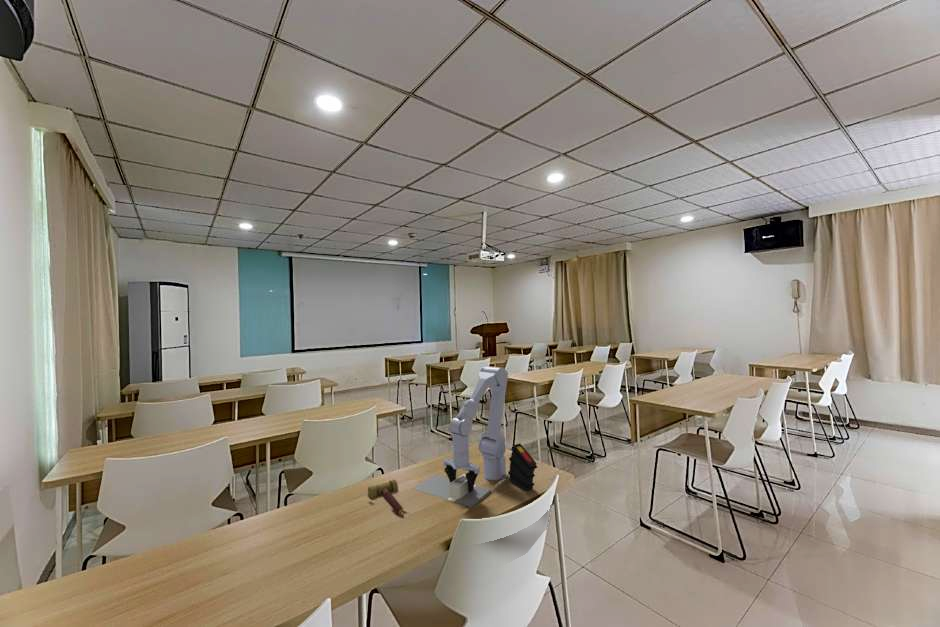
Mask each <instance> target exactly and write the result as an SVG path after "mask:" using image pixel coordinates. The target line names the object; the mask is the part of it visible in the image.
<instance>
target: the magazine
mask: <svg viewBox="0 0 940 627" xmlns="http://www.w3.org/2000/svg"><path fill="white" fill-rule="evenodd" d="M511 450H512V451H511V455H510V457H508V458H509V459H508V460H509V471H508V472H507V474H508V476H509V481H510V482H511V483H512V484H514V485H516V486H518V487H519V488H521V489H523V490H524V491H526V492H529V491H531V490H533V489H534V486H535V483H534V477H536V475H535V473H534V472H535V470H536V469H537V468H538V466H537V462H536V461H535V460H534V458H533V457H532V456H531V454H530V453H529V452H528V451H527V450H526V448H524V445H522V444H521V443H519V442H518V443H515V444H514V445H513V446H511Z"/></svg>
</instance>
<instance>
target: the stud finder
mask: <svg viewBox="0 0 940 627" xmlns="http://www.w3.org/2000/svg"><path fill="white" fill-rule="evenodd" d="M466 474H467V473H463V474H461V475H460V476H458V477H456V479H455V480H454V481H452V482H451V483H450V496H452V497H455V498H459V499H461V498H462V497H463V496H465V495H466V494H467V493H469V492H468V482H467V478H466ZM473 489H474V488H473Z"/></svg>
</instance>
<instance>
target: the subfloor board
mask: <svg viewBox="0 0 940 627" xmlns="http://www.w3.org/2000/svg"><path fill="white" fill-rule="evenodd" d="M411 489H412V490H416V491H419V492H421V493H425V494H428V495H431V496H435V497H439V498H440V499H444V500H448V501H452V502H453V503H457V504H461V505H464V506H465V507H464V508H465V509H467V508H468V509H467V510H471V509H472V508H473V507H475V506H476V505H477V504H478V503H480V502H481V501H482V500H483V499H485V498H486V497H487V496H488V495H489V494H490V493H492V489H491V488H487V487H483V486H479V485H476V484H474V489H473V491H472V492H469V493H467V494H466V495H465V496H463V497H462V498H461V499H459V498H455V497H452V496H450V481H449V478H448V476H443V475H439V474H434V475H432V476H430V477H429V478H427V479H425V480H424V481H422V482H420V483H418V484H417V485H415V486H414V487H412V488H411Z"/></svg>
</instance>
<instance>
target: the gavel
mask: <svg viewBox="0 0 940 627" xmlns="http://www.w3.org/2000/svg"><path fill="white" fill-rule="evenodd" d="M398 490H399V486H398V482H397V480H396V479H391V480H389V481H386V482H384V483H380V484H377V485H375V484H373V485H370V486H368V488H367V494H368V496H369V499H370V500H371V501H372V500H373V499H374V498H377V497H378V496H381V495H382V496H383V497H384V499H385V500H386V501H387V502H388V504H389V505H390V507H391V509H392V510H393V511H394V512H395V514H396V515H398V516H401V517H402V516H403V517H404V515H405V513H404V507H402V505H401V504H400V503H399V501H398V500H397V499H396V498H395V496H394V494H392V492H398Z"/></svg>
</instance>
